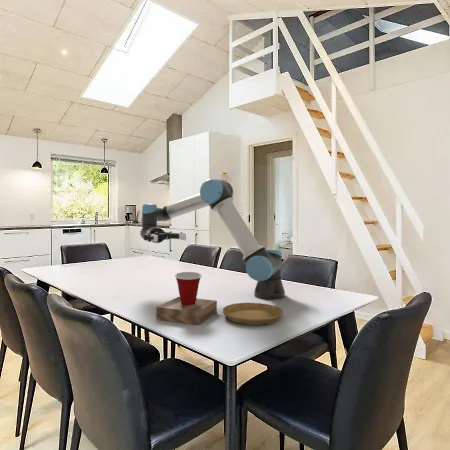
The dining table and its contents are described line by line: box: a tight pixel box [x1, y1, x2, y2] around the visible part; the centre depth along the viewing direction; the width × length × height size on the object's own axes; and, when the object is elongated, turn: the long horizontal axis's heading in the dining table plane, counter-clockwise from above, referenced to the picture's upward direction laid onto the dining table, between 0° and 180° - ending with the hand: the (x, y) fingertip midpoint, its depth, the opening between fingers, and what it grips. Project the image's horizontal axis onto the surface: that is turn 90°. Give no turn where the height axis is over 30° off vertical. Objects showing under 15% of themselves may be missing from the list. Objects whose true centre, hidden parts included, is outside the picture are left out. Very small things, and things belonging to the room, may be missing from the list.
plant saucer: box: [222, 302, 284, 326], centre depth 146 cm, size 24×24×3 cm
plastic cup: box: [174, 271, 202, 305], centre depth 147 cm, size 11×11×12 cm
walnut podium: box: [155, 296, 218, 326], centre depth 148 cm, size 18×18×5 cm
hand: (171, 238), depth 165 cm, fingers open, 13 cm apart
